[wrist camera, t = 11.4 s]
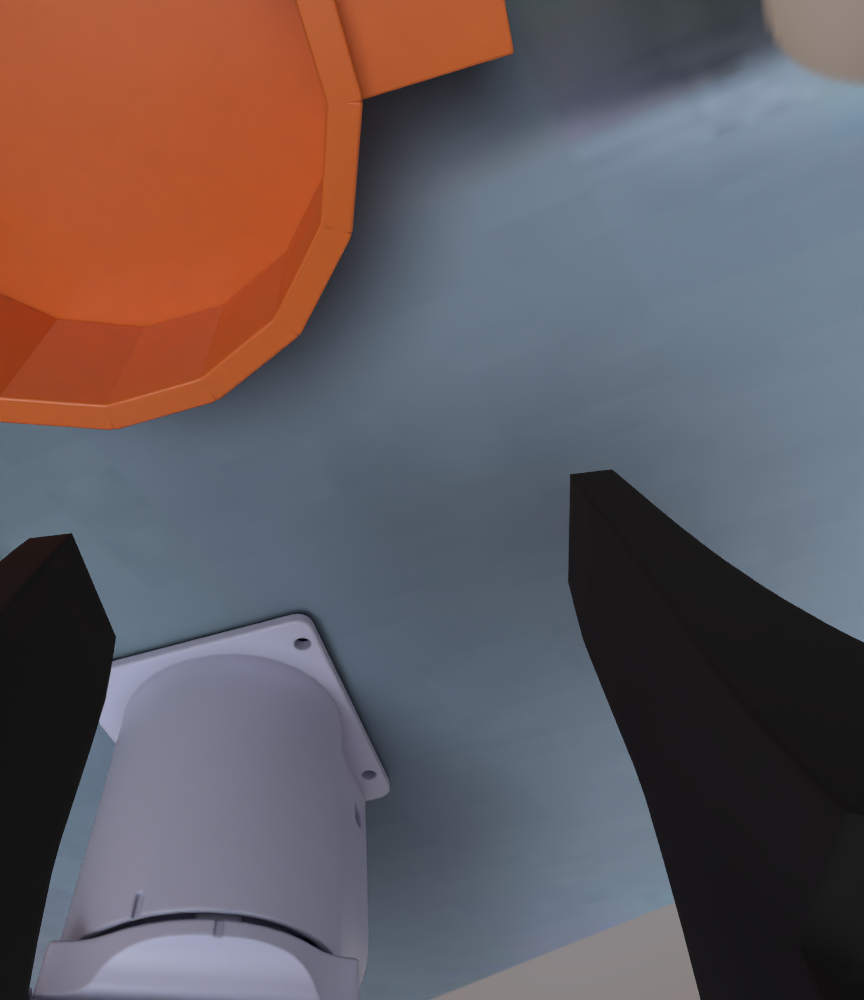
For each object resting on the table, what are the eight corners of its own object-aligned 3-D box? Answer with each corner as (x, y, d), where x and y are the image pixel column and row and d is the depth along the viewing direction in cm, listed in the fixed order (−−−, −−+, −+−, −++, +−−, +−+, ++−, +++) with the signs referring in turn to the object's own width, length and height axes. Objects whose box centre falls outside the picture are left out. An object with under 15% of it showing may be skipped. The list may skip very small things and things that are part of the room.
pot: (523, 236, 19) (564, 304, 16) (-110, 419, 21) (-205, 521, 17) (392, -436, 13) (411, -577, 9) (-513, -114, 14) (-799, -130, 11)
